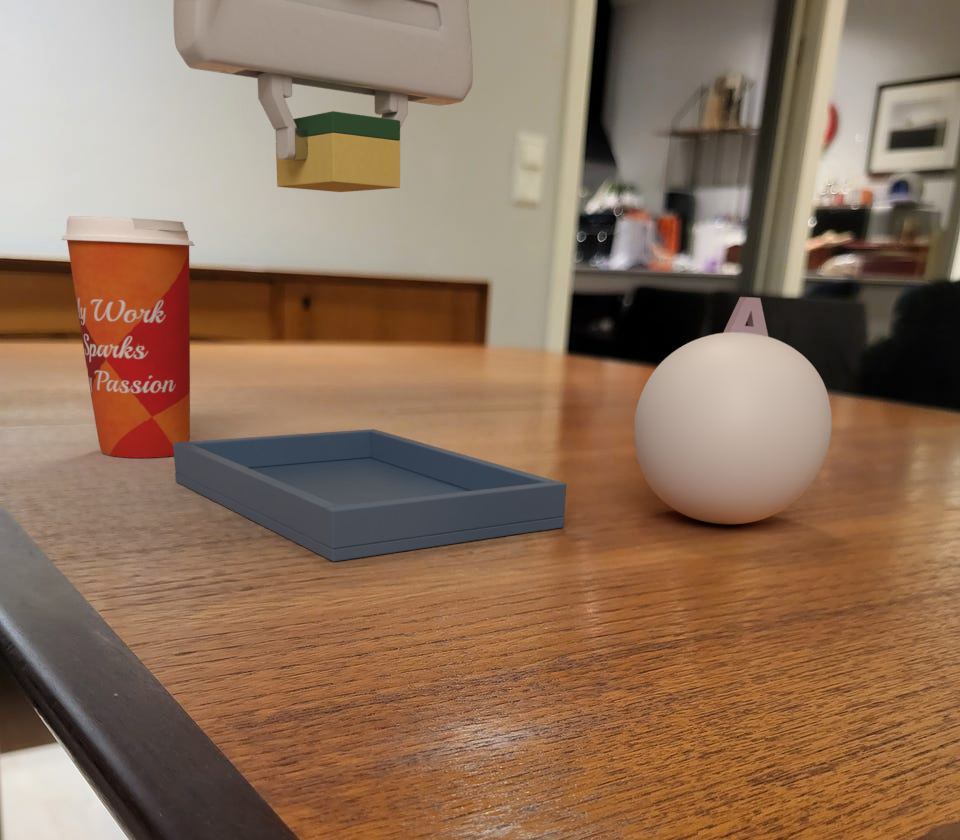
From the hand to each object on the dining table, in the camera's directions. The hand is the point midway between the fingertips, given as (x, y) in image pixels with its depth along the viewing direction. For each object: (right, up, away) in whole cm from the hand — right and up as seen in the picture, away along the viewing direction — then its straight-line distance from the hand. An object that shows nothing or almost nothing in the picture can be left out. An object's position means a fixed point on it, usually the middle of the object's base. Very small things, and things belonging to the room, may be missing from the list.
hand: (335, 164), depth 67 cm
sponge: (0, -1, 0) cm, 1 cm away
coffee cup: (-14, -19, +3) cm, 23 cm away
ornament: (+23, -25, -10) cm, 36 cm away
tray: (+3, -24, -10) cm, 26 cm away
